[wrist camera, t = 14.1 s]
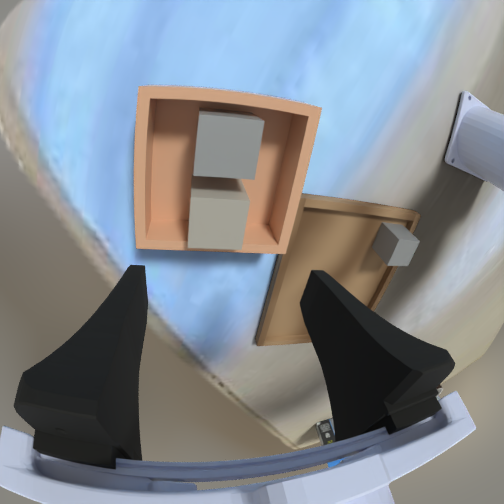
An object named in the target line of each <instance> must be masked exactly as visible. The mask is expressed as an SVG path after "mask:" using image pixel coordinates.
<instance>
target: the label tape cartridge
mask: <svg viewBox="0 0 504 504" xmlns="http://www.w3.org/2000/svg"><path fill="white" fill-rule="evenodd" d="M316 430H317V433H318V436H319V439H320V442H321V445H322V446H323V445H327V444H331V443H335V432H334V423H333V418H332V419H328V420H325V421H322V422H318V423H316ZM349 457H350V456H349ZM346 458H347V457H346ZM343 459H345V458H342V459H339V460H336V461H332V462H329V463H328V467H333V466H335V465H337V464H339V463H340V461H341V460H343Z"/></svg>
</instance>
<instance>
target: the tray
mask: <svg viewBox="0 0 504 504" xmlns="http://www.w3.org/2000/svg"><path fill="white" fill-rule="evenodd" d="M420 217H421V215H420V214H419V213H417V212H416V211H414V210H409V209H404V208H398V207H392V206H387V205H381V204H375V203H369V202H362V201H356V200H349V199H342V198H335V197H328V196H320V195H312V194H304V193H302V194H301V198H300V201H299V205H298V209H297V213H296V217H295V221H294V224H293V228H292V232H291V236H290V239H289V243H288V247H287V251H286V254H278V257H277V261H276V264H275V268H274V272H273V276H272V280H271V283H270V287H269V291H268V295H267V298H266V302H265V306H264V309H263V313H262V317H261V320H260V324H259V328H258V331H257V335H256V338H255V340H256V344H257V346H268V345H284V344H298V343H309V342H312V341H311V338H310V336H309V333H308V331H307V328H306V326H305V323H304V320H303V316H302V312H301V308H300V300H301V297H302V295H303V292H304V289H305V287H306V284H307V281H308V278H309V275H310V272H311V270H324V271H325V272H326V273H328V274H329V275H330V276H331V277H333V278H334V279H335V280H336V281H337V282H338V283H340V284H341V285H342V286H343V287H344V288H345V289H346V290H348V291H349V292H350V293H351V294H352V295H353V296H355V297H356V298H357V299H358V300H359V301H361V302H362V303H363V304H364V305H365V306H367V307H368V308H369V309H371V310H372V311H373V312H374V310H375V309H376V307H377V305H378V303H379V301H380V300H381V298H382V296H383V294H384V292H385V290H386V289H387V287H388V285H389V283H390V281H391V279H392V277H393V275H394V273H395V271H396V269H397V267H398V266H387V265H386V264H385V263H384V261H383V260H382V259H381V258H380V256H379V255H378V254H377V253H376V252H375V250H374V249H373V248H372V245H373V243H374V241H375V238H376V236H377V233H378V231H379V228H380V226H381V223H382V222H385V223H393V224H401V225H403V226H404V227H405V228H407V229H408V230H409V231H410V232H411V233H412V234H413V233H414V231H415V229H416V226H417V224H418V222H419V219H420Z"/></svg>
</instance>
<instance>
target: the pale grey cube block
mask: <svg viewBox="0 0 504 504" xmlns="http://www.w3.org/2000/svg"><path fill="white" fill-rule="evenodd" d="M249 205H250V199H249V197H248V195H247V192H246V190H245V187H244V185H243V182H242V180H241V179H237V178H223V177H206V176H193V174H192V178H191V190H190V203H189V218H188V248H205V249H231V250H242V245H243V239H244V233H245V228H246V222H247V216H248V211H249Z"/></svg>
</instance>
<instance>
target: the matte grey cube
mask: <svg viewBox="0 0 504 504" xmlns="http://www.w3.org/2000/svg"><path fill="white" fill-rule="evenodd" d="M264 122H265V121H264V120H262V119H261V118H259V117H258V116H256V115H255V114H253V113H252V112H244V111H235V110H226V109H214V108H201V107H199V113H198V122H197V131H196V141H195V151H194V170H193V176H206V177H223V178H237V179H250V180H255V174H256V168H257V162H258V156H259V151H260V145H261V139H262V133H263V128H264Z"/></svg>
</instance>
